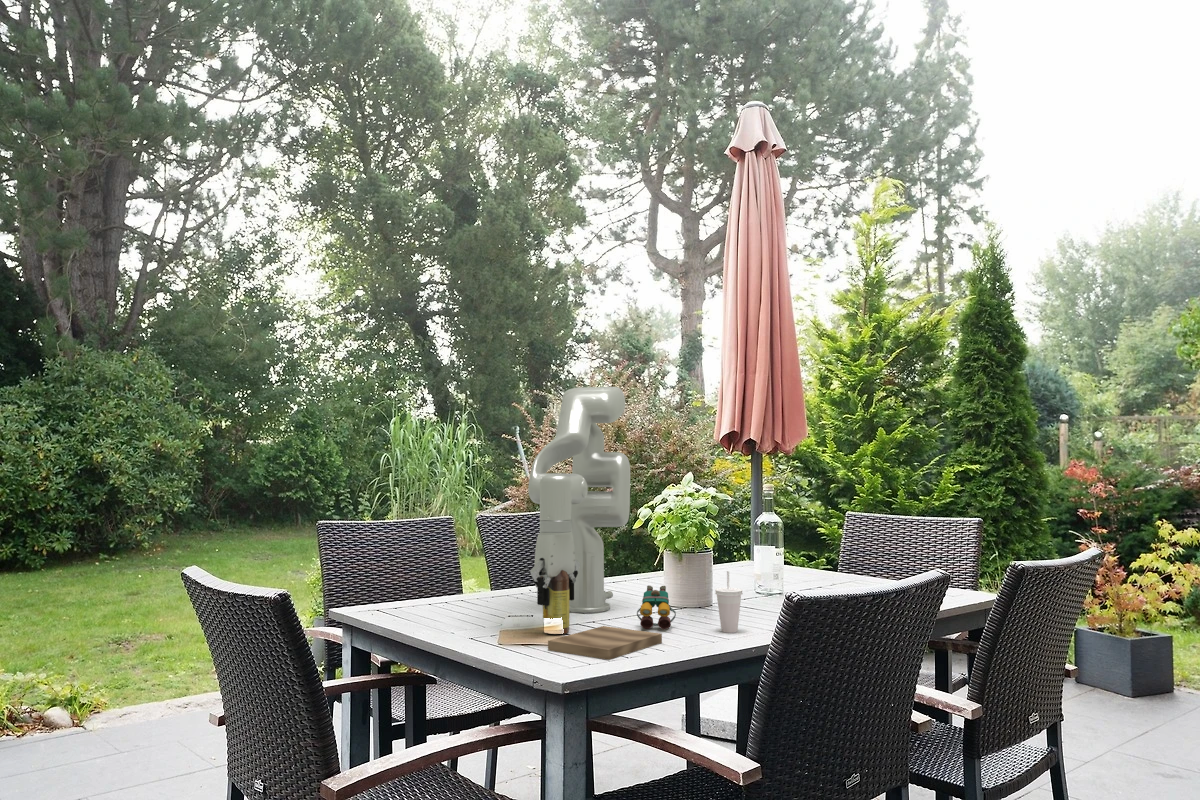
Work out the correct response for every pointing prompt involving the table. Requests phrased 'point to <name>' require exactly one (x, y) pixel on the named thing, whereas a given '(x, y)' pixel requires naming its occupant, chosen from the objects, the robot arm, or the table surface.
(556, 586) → the sauce bottle
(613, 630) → the walnut board
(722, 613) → the smoothie
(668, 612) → the binoculars
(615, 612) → the table surface
